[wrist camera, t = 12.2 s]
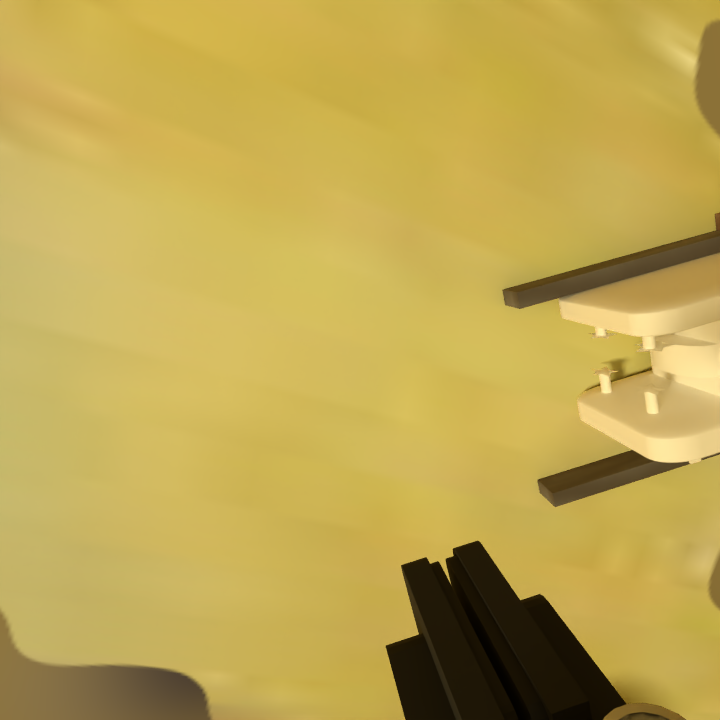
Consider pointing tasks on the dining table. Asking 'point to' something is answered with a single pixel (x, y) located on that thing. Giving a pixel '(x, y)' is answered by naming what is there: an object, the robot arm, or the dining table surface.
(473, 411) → the dining table surface
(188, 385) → the dining table surface
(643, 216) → the dining table surface
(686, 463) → the guide track
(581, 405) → the cable organizer
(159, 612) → the dining table surface
